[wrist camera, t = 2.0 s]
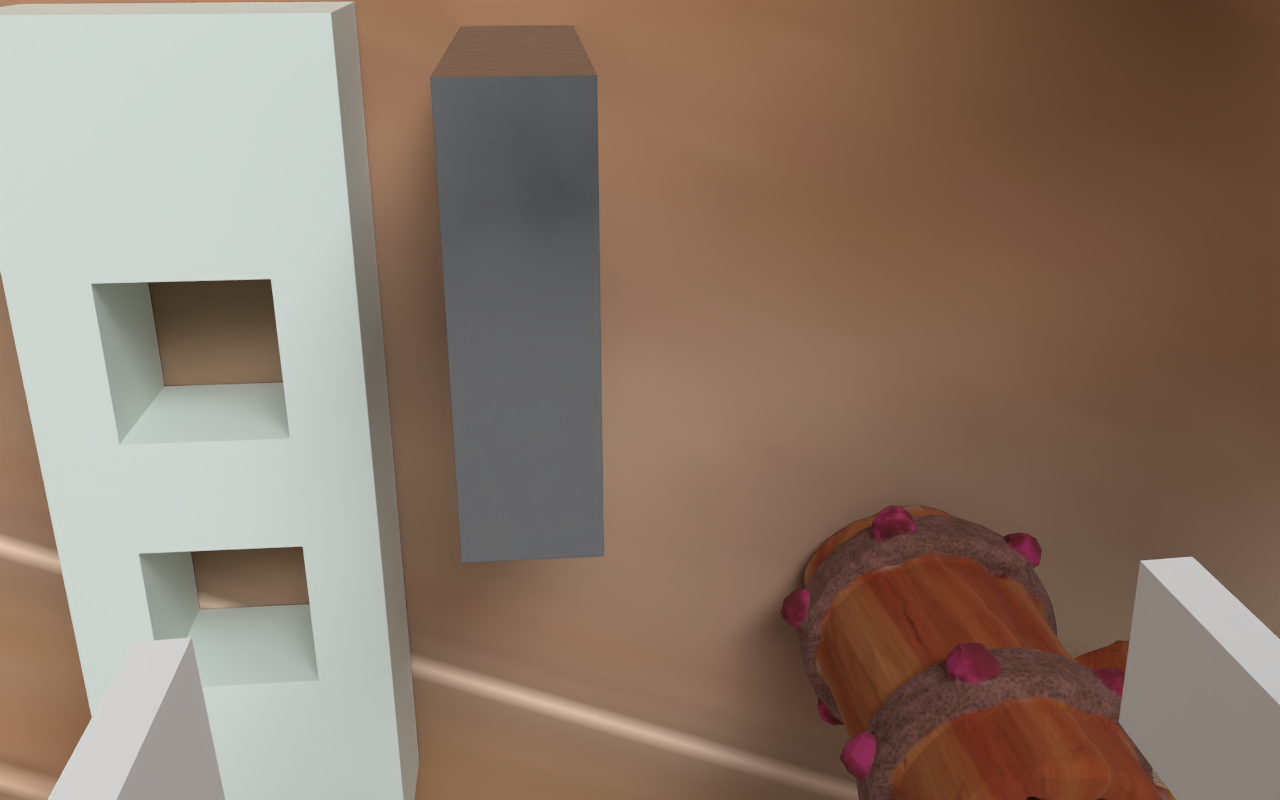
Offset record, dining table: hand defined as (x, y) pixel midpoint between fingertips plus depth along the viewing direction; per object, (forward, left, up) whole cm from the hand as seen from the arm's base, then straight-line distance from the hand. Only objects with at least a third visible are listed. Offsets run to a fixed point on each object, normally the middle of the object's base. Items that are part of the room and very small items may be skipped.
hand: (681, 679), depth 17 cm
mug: (+12, +13, -22) cm, 28 cm away
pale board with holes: (+5, -11, -22) cm, 25 cm away
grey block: (-2, -2, -22) cm, 22 cm away
